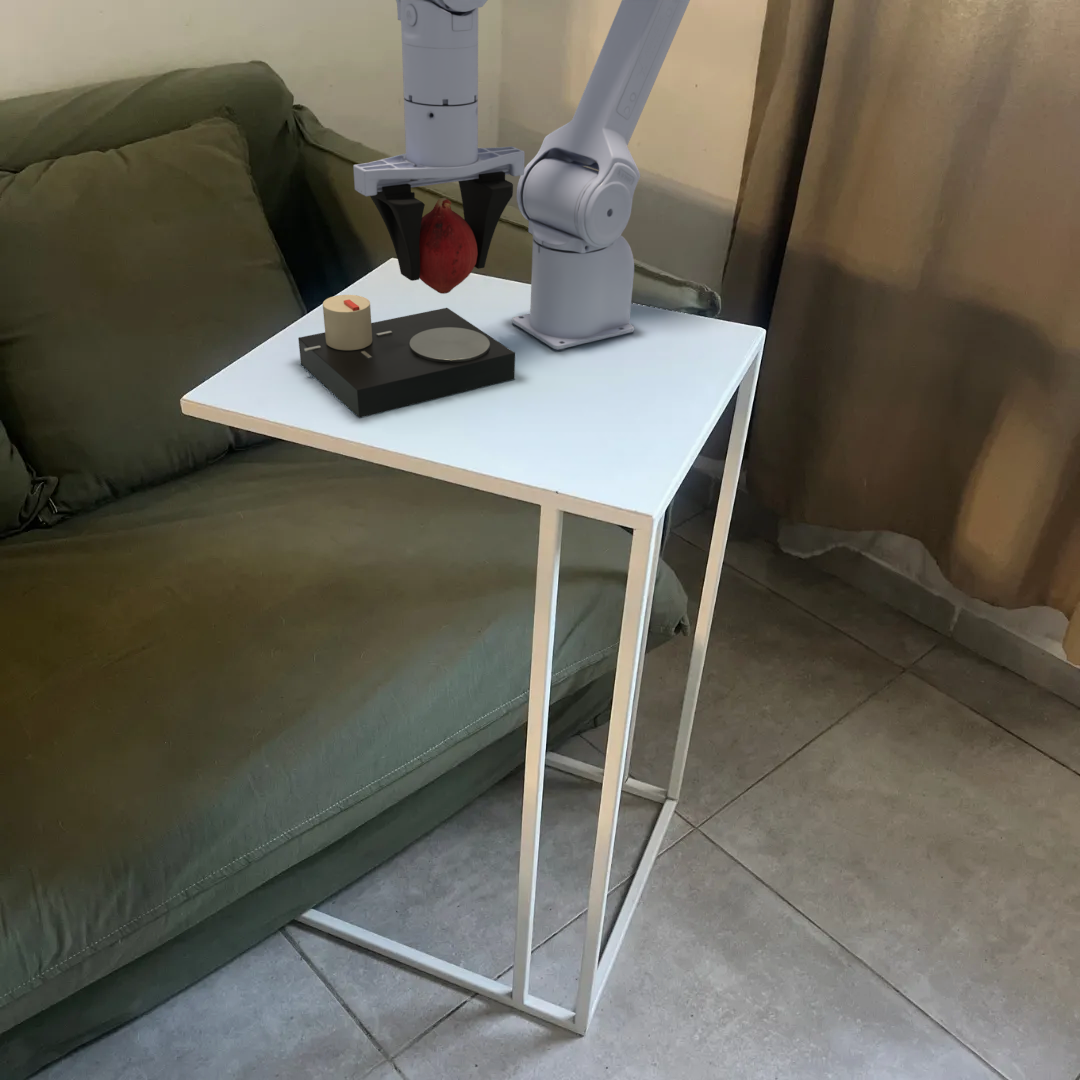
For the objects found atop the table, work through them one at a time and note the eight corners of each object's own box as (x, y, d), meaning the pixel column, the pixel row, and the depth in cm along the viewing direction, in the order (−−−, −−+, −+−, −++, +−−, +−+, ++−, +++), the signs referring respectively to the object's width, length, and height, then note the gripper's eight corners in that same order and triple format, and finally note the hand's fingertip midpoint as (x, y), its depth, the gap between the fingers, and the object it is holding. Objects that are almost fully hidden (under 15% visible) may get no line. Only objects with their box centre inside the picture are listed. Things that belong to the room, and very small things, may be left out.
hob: (441, 328, 98) (441, 301, 97) (514, 379, 89) (515, 351, 88) (289, 360, 91) (286, 332, 89) (352, 419, 82) (350, 389, 80)
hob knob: (318, 337, 89) (314, 296, 87) (359, 329, 91) (357, 288, 89) (338, 354, 86) (334, 311, 84) (380, 344, 88) (378, 303, 86)
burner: (464, 325, 93) (464, 321, 92) (505, 352, 88) (505, 349, 88) (395, 339, 89) (395, 336, 89) (434, 369, 85) (434, 365, 84)
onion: (466, 309, 84) (466, 212, 80) (400, 301, 85) (396, 205, 80) (484, 285, 89) (485, 192, 84) (421, 278, 90) (418, 186, 85)
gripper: (494, 82, 84) (492, 244, 92) (332, 95, 77) (344, 269, 85) (541, 99, 79) (534, 268, 87) (372, 114, 73) (382, 296, 80)
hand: (443, 270), depth 86 cm, fingers closed on onion, 6 cm apart
